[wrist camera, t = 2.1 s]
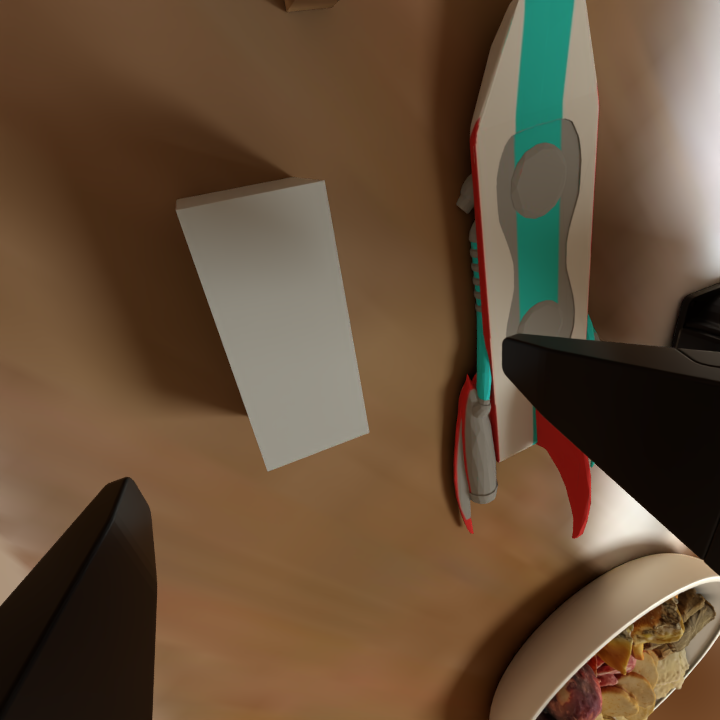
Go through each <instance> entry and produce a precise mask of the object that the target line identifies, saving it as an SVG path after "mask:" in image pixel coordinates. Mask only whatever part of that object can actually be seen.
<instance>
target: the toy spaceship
mask: <svg viewBox="0 0 720 720" xmlns="http://www.w3.org/2000/svg"><path fill="white" fill-rule="evenodd" d="M598 122H599V95H598V86H597V79H596V72H595V65H594V58H593V50H592V43H591V36H590V29H589V21H588V14H587V7H586V0H513V1H512V2H511V3H510V4H509V6H508V9H507V11H506V13H505V16H504V18H503V20H502V22H501V25H500V27H499V29H498V32H497V34H496V36H495V39H494V41H493V43H492V45H491V49H490V53H489V56H488V60H487V64H486V68H485V72H484V76H483V80H482V84H481V87H480V91H479V95H478V99H477V103H476V107H475V111H474V115H473V118H472V122H471V126H470V154H471V168H472V174H470V175H469V176H468V178H467V179H466V181H465V182H464V183H463V185H462V188H461V191H460V193H461V195H460V197H459V199H458V201H457V204H456V205H457V206H458V207H460V208H461V209H462V210H463V211H465V212H466V213H469V212H470V211H471V210H472V208H473V207H474V210H475V221H474V223H473V225H472V227H471V230H470V232H469V241H470V242H471V249H470V256H471V257H472V261H473V262H472V263H471V269H472V270H473V272H474V276H473V284H474V285H475V290H474V297H475V298H476V303H475V310H476V311H477V373H476V374H475V375H474V377H473V379H472V381H471V380H470V378H469V376H468V374H467V378H466V381H465V383H464V385H463V387H462V389H461V392H460V396H459V401H458V417H457V423H456V433H455V448H454V463H453V465H454V485H455V493H456V499H457V502H458V506H459V509H460V512H461V515H462V518H463V520H464V522H465V525H466V527H467V529H468V530H469V532H470V533H472V534H473V527H472V521H471V511H470V499H471V500H472V501H473V502H476V503H479V504H486V503H489V502H491V501H492V500H494V498H495V496H496V493H497V487H498V484H497V479H496V461H497V462H498V463H499V462H501V461H503V460H505V459H507V458H509V457H511V456H513V455H515V454H517V453H519V452H520V451H522V450H524V449H526V448H528V447H530V446H532V445H534V444H537V445H539V446H541V447H543V448H545V449H546V450H547V451H548V453H549V455H550V456H551V458H552V460H553V461H554V463H555V465H556V466H557V468H558V470H559V472H560V474H561V477H562V479H563V481H564V484H565V486H566V490H567V494H568V497H569V501H570V505H571V509H572V514H573V535H572V538H574V539H575V538H577V537H579V536H580V535H582V534H583V532H584V529H585V526H586V523H587V519H588V515H589V510H590V505H591V474H590V468H589V461H588V457H587V456H586V455H585V454H584V453H583V452H582V451H580V450H579V449H578V448H577V447H576V446H575V445H574V444H573V443H572V442H571V441H569V440H568V439H567V438H566V437H565V436H564V435H563V434H562V433H561V432H559V431H558V430H557V429H556V428H555V427H554V426H553V425H552V424H551V423H549V422H548V421H547V420H546V419H545V418H544V417H543V416H542V415H541V414H540V413H539V412H538V411H537V410H536V409H535V408H534V406H533V405H532V404H531V403H530V402H529V401H528V400H527V399H526V398H525V396H524V395H523V394H522V393H521V392H520V391H519V390H518V389H517V388H516V387H515V385H514V384H513V383H512V382H511V381H510V380H509V379H508V378H507V377H506V375H505V374H504V372H503V370H502V342H503V340H504V339H505V338H506V337H509V336H511V335H514V334H518V333H522V334H532V335H543V336H553V337H564V338H574V339H585V340H595V341H600V339H599V337H598V334H597V332H596V331H595V329H594V327H593V325H592V322H591V319H590V317H589V315H588V299H589V282H590V265H591V247H592V229H593V211H594V193H595V176H596V158H597V140H598ZM593 465H594V462H593V461H592V460H591V465H590V466H591V467H593Z"/></svg>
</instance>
